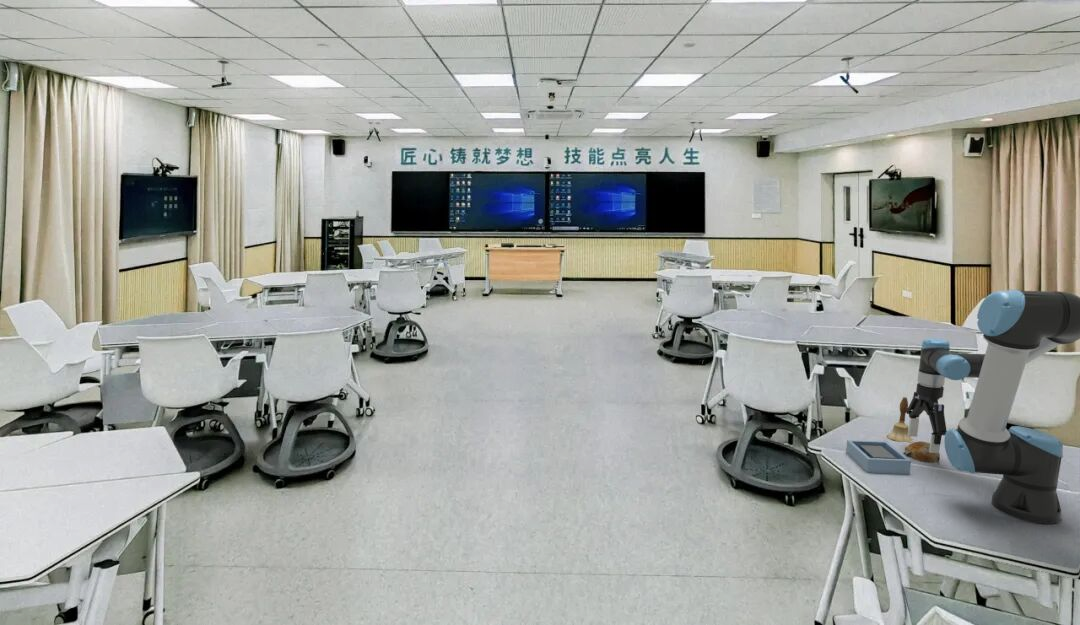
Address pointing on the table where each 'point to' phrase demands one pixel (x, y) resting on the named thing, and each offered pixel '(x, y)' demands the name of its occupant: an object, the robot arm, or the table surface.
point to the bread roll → (921, 452)
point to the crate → (877, 464)
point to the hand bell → (901, 425)
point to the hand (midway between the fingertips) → (922, 444)
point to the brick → (876, 452)
